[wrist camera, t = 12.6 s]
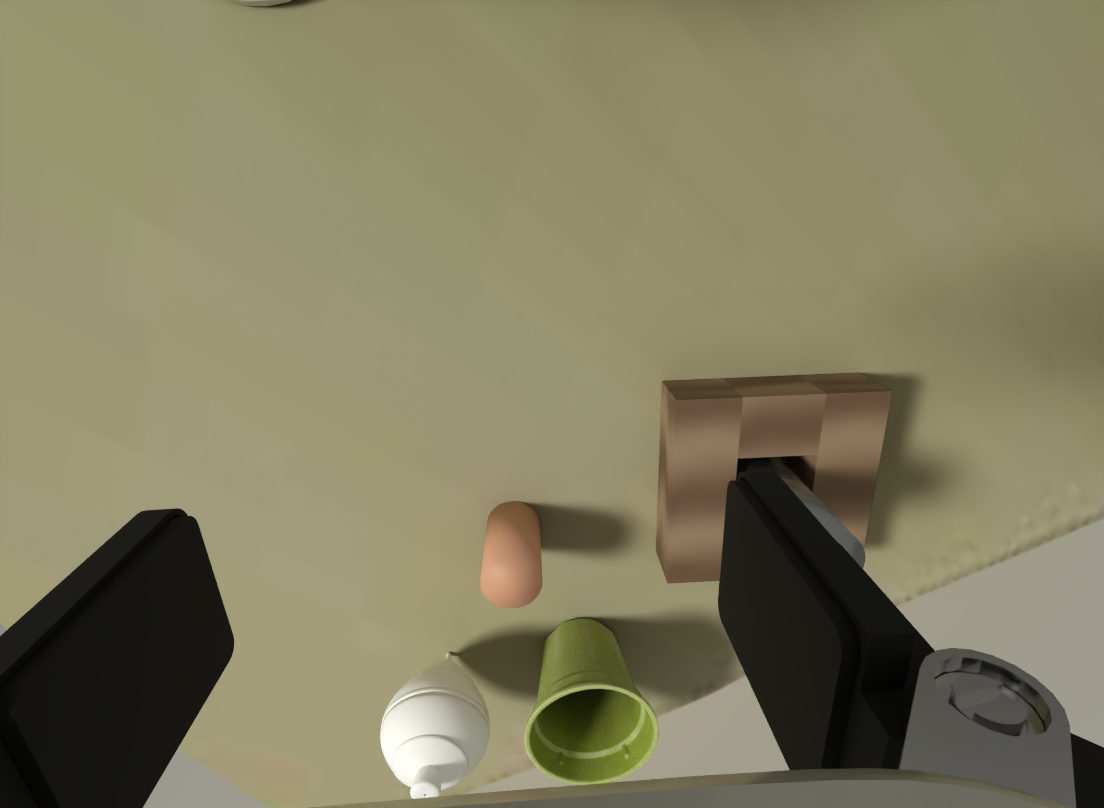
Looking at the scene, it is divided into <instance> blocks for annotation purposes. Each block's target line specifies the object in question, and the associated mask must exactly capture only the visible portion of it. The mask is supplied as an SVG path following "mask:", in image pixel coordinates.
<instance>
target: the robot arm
mask: <svg viewBox="0 0 1104 808" xmlns="http://www.w3.org/2000/svg"><path fill="white" fill-rule="evenodd" d="M224 1H228V2H232V3H236V4H241V5H245V6H271V5H276V4H281V3H286V2H290V1H292V0H224ZM718 608H719V614H720V618H721V621H722V624H723V626H724V628H725V630H726V633H727V635H728V637H729V639H730V641H731V643H732V646H733V648H734V650H735V652H736V654H737V656H738V659H739V661H740V663H741V665H742V667H743V669H744V672H745V674H746V676H747V678H748V680H749V682H750V684H751V687H752V689H753V691H754V693H755V695H756V698H757V700H758V702H759V704H760V706H761V708H762V711H763V713H764V715H765V717H766V719H767V722H768V724H769V726H770V728H771V730H772V732H773V735H774V737H775V739H776V741H777V743H778V745H779V748H780V750H781V752H782V754H783V756H784V759H785V761H786V763H787V765H788V767H789V769H790V770H788V771H772V772H755V773H738V774H722V775H706V776H689V777H677V778H665V779H651V780H639V781H626V782H613V783H601V784H588V785H575V786H563V787H550V788H538V789H526V790H512V791H500V792H488V793H476V794H464V795H452V796H440V797H428V798H416V799H405V800H393V801H381V802H369V803H358V804H346V805H334V806H323V807H311V808H1104V748H1103V747H1101V746H1099V745H1097V744H1094V743H1092V742H1090V741H1087V740H1085V739H1083V738H1081V737H1078V736H1076V735H1073V734H1072V733H1070V725H1069V721H1068V718H1067V715H1066V713H1065V709H1064V708H1063V707H1062V705H1061V704H1060V703H1059V701H1058V700H1057V699H1056V697H1055V696H1054V695H1053V693H1052V692H1050V691H1049V690H1048V689H1047V688H1046V687H1045V686H1044V685H1043V684H1041V683H1040V682H1039V681H1038V680H1037V679H1036V678H1034V677H1033V676H1031V675H1030V674H1028V673H1026V672H1025V671H1023V670H1022V669H1020V668H1018V667H1017V666H1015V665H1013V664H1011V663H1009V662H1006V661H1004V660H1002V659H999V658H997V657H995V656H993V655H989V654H985V653H982V652H978V651H974V650H969V649H958V648H949V649H943V650H937V651H934V649H933V648H932V647H931V646H930V645H929V644H928V643H927V641H926V640H925V639H924V638H923V637H922V636H921V635H920V634H919V632H918V631H917V630H916V629H915V628H914V627H913V626H912V624H911V623H910V622H909V621H908V620H907V619H906V618H905V617H904V615H903V614H902V613H901V612H900V611H899V610H898V609H897V607H896V606H895V605H894V604H893V603H892V602H891V601H890V599H889V598H888V597H887V596H886V595H885V594H884V593H883V592H882V590H881V589H880V588H879V587H878V586H877V585H876V584H875V582H874V581H873V580H872V579H871V578H870V577H869V576H868V575H867V573H866V572H865V571H864V570H863V569H862V568H861V567H860V565H859V564H858V563H857V562H856V561H855V560H854V559H853V557H852V556H851V555H850V554H849V553H848V552H847V551H846V550H845V548H844V547H843V546H842V545H840V544H839V543H838V542H837V541H836V540H835V539H834V538H833V537H832V535H831V534H830V533H829V532H828V531H827V530H826V529H825V527H824V526H823V525H822V524H821V523H820V522H819V521H818V519H817V518H816V517H815V516H814V515H813V514H812V513H811V512H810V510H809V509H808V508H807V507H806V506H805V505H804V504H803V502H802V501H801V500H800V499H799V498H798V497H797V496H796V494H795V493H794V492H793V491H792V490H791V489H790V488H789V486H788V485H787V484H786V483H785V482H784V481H783V480H782V478H781V477H780V476H779V475H778V474H777V473H776V472H775V471H774V470H761V471H746V472H740V473H739V474H738V477H737V480H731V481H730V482H729V483H728V487H727V496H726V509H725V521H724V533H723V546H722V558H721V571H720V583H719V595H718ZM233 649H234V637H233V633H232V630H231V627H230V624H229V621H228V617H227V614H226V611H225V608H224V605H223V601H222V598H221V595H220V592H219V589H218V586H217V582H216V579H215V576H214V573H213V570H212V566H211V563H210V560H209V557H208V554H207V551H206V547H205V544H204V541H203V538H202V535H201V532H200V528H199V525H198V523H197V521H196V519H195V518H194V517H192V516H188V515H187V514H186V513H185V512H184V511H183V510H181V509H179V508H178V509H162V510H147V511H142V512H140V513H138V514H137V515H136V516H135V517H133V518H132V519H131V520H130V521H129V522H128V523H127V524H126V525H125V526H123V527H122V528H121V529H120V530H119V531H118V532H117V533H116V534H114V535H113V536H112V537H111V538H110V539H109V540H108V541H107V542H105V543H104V544H103V545H102V546H101V547H100V548H99V549H98V550H96V551H95V552H94V553H93V554H92V555H91V556H90V557H89V558H87V559H86V560H85V561H84V562H83V563H82V564H81V565H80V566H79V567H77V568H76V569H75V570H74V571H73V572H72V573H71V574H70V575H68V576H67V577H66V578H65V579H64V580H63V581H62V582H61V583H59V584H58V585H57V586H56V587H55V588H54V589H53V590H52V591H50V592H49V593H48V594H47V595H46V596H45V597H44V598H43V599H42V600H40V601H39V602H38V603H37V604H36V605H35V606H34V607H33V608H31V609H30V610H29V611H28V612H27V613H26V614H25V615H24V616H22V617H21V618H20V619H19V620H18V621H17V622H16V623H15V624H13V625H12V626H11V627H10V628H9V629H8V630H7V631H6V632H5V633H4V634H2V635H1V636H0V808H143V806H144V804H145V803H146V801H147V799H148V798H149V796H150V794H151V793H152V791H153V789H154V787H155V786H156V784H157V782H158V781H159V779H160V777H161V776H162V774H163V772H164V771H165V769H166V767H167V765H168V764H169V762H170V760H171V759H172V757H173V755H174V754H175V752H176V750H177V749H178V747H179V745H180V744H181V742H182V740H183V738H184V737H185V735H186V733H187V732H188V730H189V728H190V727H191V725H192V723H193V722H194V720H195V718H196V717H197V715H198V713H199V711H200V710H201V708H202V706H203V705H204V703H205V701H206V700H207V698H208V696H209V695H210V693H211V691H212V689H213V688H214V686H215V684H216V683H217V681H218V679H219V678H220V676H221V674H222V673H223V671H224V669H225V668H226V666H227V664H228V662H229V661H230V659H231V657H232V653H233Z"/></svg>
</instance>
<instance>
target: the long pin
mask: <svg viewBox="0 0 1104 808" xmlns="http://www.w3.org/2000/svg"><path fill="white" fill-rule="evenodd" d="M761 470H774V471H775V472H776V473H777V474H778V475H779V476H780V477H781V478H782V480H783V481H784V482H785V483H786V484H787V485H788V486H789V488H790V489H791V490H792V491H793V492H794V493H795V494H796V496H797V497H798V498H799V499H800V500H801V501H802V502H803V504H804V505H805V506H806V507H807V508H808V509H809V510H810V512H811V513H812V514H813V515H814V516H815V517H816V518H817V519H818V521H819V522H820V523H821V524H822V525H823V526H824V527H825V529H826V530H827V531H828V532H829V533H830V534H831V535H832V537H833V538H834V539H835V540H836V541H837V542H838V543H839V544H840V545H842V546H843V547H844V548H845V550H846V551H847V552H848V553H849V554H850V555H851V556H852V557H853V559H854V560H855V561H856V562H857V563H858V564H859V565H860V567H861V568H862V569H863V566H864V563H865V551H864V548H863V546H862V544H861V543H860V542H859V541H858V539H857V538H856V537H855V536H854V535H853V534H852V533H851V532H850V531H849V530H848V529H847V528H846V527H845V526H844V525H843V524H842V523H841V522H840V521H839V519H838V518H837V517H836V516H835V515H834V514H833V513H832V512H831V511H830V510H829V509H828V508H827V507H826V506H825V505H824V504H823V503H822V502H821V501H820V499H819V498H818V497H817V496H816V495H815V494H814V493H813V492H812V491H811V490H810V489H809V488H808V487H807V486H806V485H805V484H804V483H803V482H802V481H801V480H800V478H799V477H798V476H797V475H796V474H795V473H794V472H793V471H792V470H791V469H790V468H789V467H788V466H787V465H786V464H785V463H784V462H783V461H782V460H781V458H780V457H759V458H738V461H737V472H736V480H737V477H738V474H739V473H740V472H746V471H761Z"/></svg>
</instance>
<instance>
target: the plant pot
mask: <svg viewBox="0 0 1104 808" xmlns="http://www.w3.org/2000/svg"><path fill="white" fill-rule="evenodd" d="M658 735H659V727H658V721H657V718H656V716H655V713H654V711H653V709H652V707H651V706H650V705H649V703H648V702H647V701H646V700H645V699H644V698H643V697H642V695H641V694H640V692H639V691H638V690H637V689H636V687H635V685H634V682H633V680H632V678H631V675H630V673H629V670H628V668H627V666H626V663H625V661H624V658H623V656H622V653H621V650H620V648H619V645H618V643H617V641H616V638H615V636H614V634H613V632H612V631H611V630H609V629H608V628H606V627H605V626H603V625H602V624H601V623H599V622H598V621H596V620H592V619H584V618H582V619H574V620H569V621H566V622H564V623H562V624H560V625H559V626H558V627H557V628H556V629H555V630H554V631H553V632H552V633H551V634H550V635H549V636H548V637H547V639H546V641H545V644H544V652H543V660H542V668H541V676H540V684H539V691H538V698H537V702H536V704H535V707H534V709H533V712H532V714H531V715H530V717H529V720H528V722H527V725H526V729H525V746H526V750H527V753H528V755H529V757H530V759H531V760H532V761H533V763H534V764H535V765H536V767H537V768H538V769H540V770H541V771H542V772H543V773H545V774H546V775H548V776H550V777H552V778H554V779H556V780H559V781H562V782H567V783H571V784H576V785H588V784H601V783H609V782H611V781H615V780H618V779H621V778H623V777H625V776H627V775H629V774H630V773H632V772H634V771H635V770H637V769H638V768H640V767H641V766H642V765H643V764H644V763H645V762H646V761H647V760H648V758H649V757H650V756H651V755H652V753H653V751H654V749H655V747H656V745H657V741H658V737H659V736H658Z"/></svg>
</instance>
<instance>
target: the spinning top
mask: <svg viewBox="0 0 1104 808" xmlns="http://www.w3.org/2000/svg"><path fill="white" fill-rule="evenodd" d="M450 658H451V654H450V653H447V654H446V659H445V660H442V661H439V662H437V663H435V664H433V665H431V666H429V667H427V668H426V669H424V670H423V671H421V672H420V673H418V674H416V675H415V676H414V677H413V678H411V679H410V680H409V681H408V682H407V683H406V684H405V685H404V686H403V687H402V688H401V689H400V690H399V691H398V692H397V693H396V695H395V696H394V697H393V699H392V700H391V702H390V703H389V705H388V707H387V709H386V712H385V714H384V717H383V720H382V724H381V734H380V738H381V746H382V751H383V754H384V757H385V759H386V761H387V763H388V765H389V766H390V768H391V769H392V770H393V772H394V774H395V776H396V777H397V778H398V779H399V780H400V781H401V782H402V783H404V784H405V785H407V786H409V787H411V790H410V794H411V797H412V798H413V799H416V798H428V797H439V796H440V794H441V790H445V789H448V788H450V787H452V786H454V785H456V784H458V783H459V782H460V781H461V780H462V779H463V778H464V777H466V776H467V775H468V774H469V773H470V772H471V771H472V770H473V769H474V768H475V767H476V766H477V764H478V763H479V761H480V760H481V758H482V756H483V755H484V753H485V750H486V748H487V744H488V740H489V736H490V719H489V713H488V709H487V706H486V704H485V701H484V699H483V697H482V695H481V693H480V691H479V690H478V688H477V686H476V685H475V683H474V682H473V680H472V679H471V678H470V677H469V676H468V675H467V674H466V673H465V671H464V670H463V669H462V668H461V667H460V666H458V665H457V664H456V663H455V662H453V661H451V660H450Z"/></svg>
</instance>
